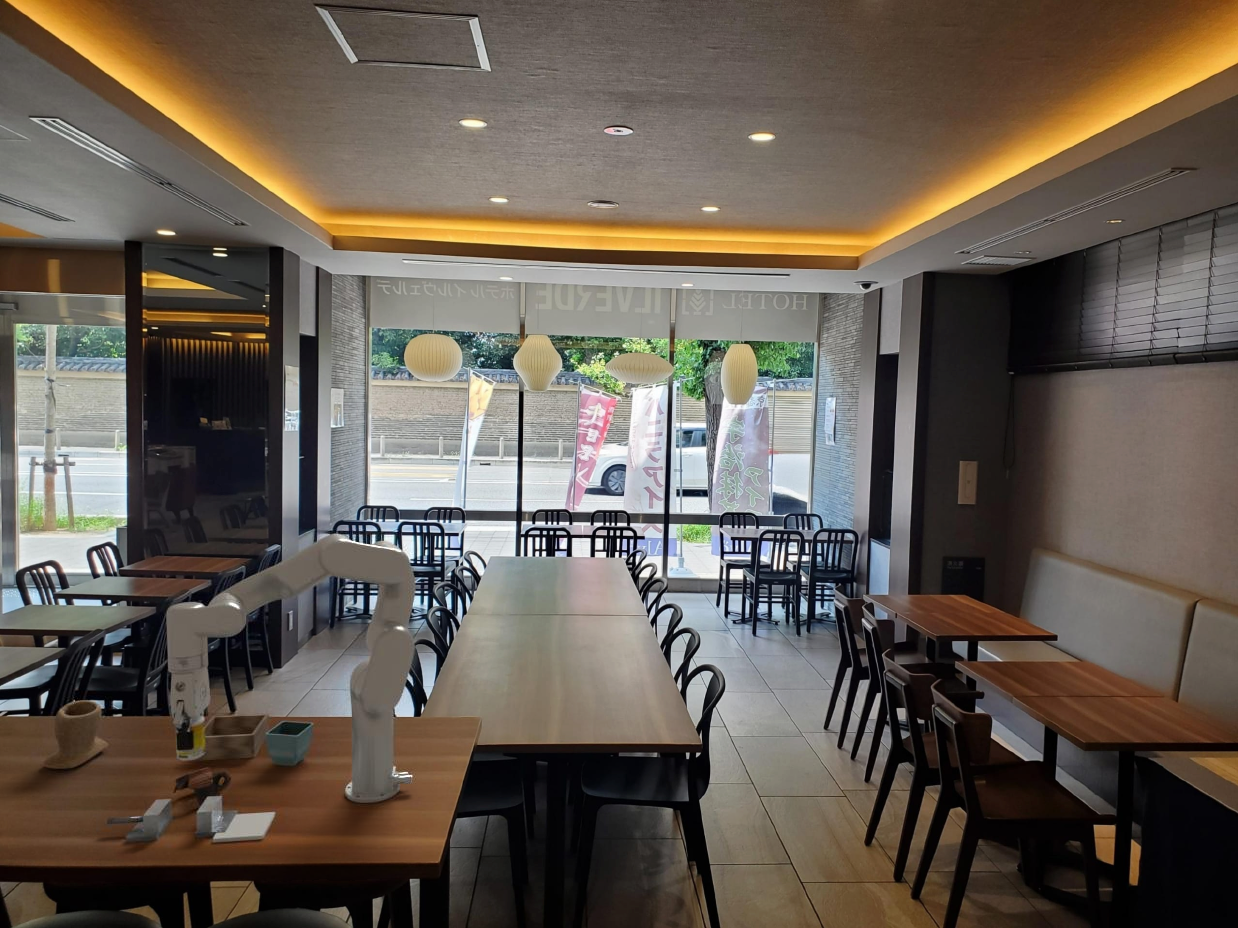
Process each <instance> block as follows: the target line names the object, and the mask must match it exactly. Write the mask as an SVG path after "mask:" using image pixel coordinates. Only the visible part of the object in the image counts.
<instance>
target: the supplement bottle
mask: <svg viewBox="0 0 1238 928" xmlns="http://www.w3.org/2000/svg"><path fill="white" fill-rule="evenodd" d="M183 717H189V716H188V715H187V714H183ZM183 722H185V723H186V724H187V723H188V720H183ZM205 722H206V721H205V716H204V717H203V716H201V715H199V716H197V717H196V718H192V729H191V730H193V734H194V748H193V749H192V750H177V739H176V738H175V750H176V751H175V753H176V754H175V755H176V758H177V759H178V760H179V761H185V762H186V761H193V760H194V759H197V758H199V757H201V756H203V755H204V754H205V725H206V723H205Z"/></svg>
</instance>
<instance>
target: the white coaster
mask: <svg viewBox="0 0 1238 928" xmlns="http://www.w3.org/2000/svg"><path fill="white" fill-rule="evenodd" d="M275 816H276V811H272V812H270V811H269V812H255V813H254V812H252V813H241V814H240V813H238V814H236V815H235V817H234V818H233V820H232V822H231V823H230V825H229V827H228V828H227V830H226V832H218V833H216V834H215V836H213V837H212V843H224V842H238V841H239V842H240V841H254V840H264V839H265V836H266V834H267V833H268V830H269V829H270V827H271V825H272V823H273V820H274V819H275Z"/></svg>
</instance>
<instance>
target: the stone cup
mask: <svg viewBox="0 0 1238 928" xmlns="http://www.w3.org/2000/svg"><path fill="white" fill-rule="evenodd" d="M101 721H102V707H101V705H100V704H99V703H98V702H96V701H93V700H88V699H84V700H83V699H82V700H81V699H80V700H76V701H72V702H69V703H67V704H65V705H64V706H62V707H61V708H59V710H58V711H57V713H56V716H55V718H54V728H53V729H54V735H55V739H56V741H57V743H58V744H57V745H58V750H57V751H56V752H54V753H52V754H51V755H49V756H47V757H46V758H45V759H44V760H43V761H42V766H43V767H45V768H48V769H55V770H64V769H72V768H76V767H78V766H80V765H82V764H84V763H86V762H87V761H89V760H90V759H92V758H93V757H95V756H97V754H100V752H102V751H104V750H105V749H106V748H108V746H109V744H108V742H106V741H104V739H102V738H99V737H98V736H97V733H98V729H99V727H100V725H101Z"/></svg>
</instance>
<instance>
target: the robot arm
mask: <svg viewBox="0 0 1238 928" xmlns="http://www.w3.org/2000/svg"><path fill="white" fill-rule="evenodd" d="M332 576H333V577H336V578H340V579H345V580H349V581H353V582H356V581H357V582H362V583H369V584H376V585H378V591H377V598H376V601H375V606H374V609H373V613H372V616H371V620H370V623H369V626H368V629H367V632H366V635H365V644H366V647H367V649H368V651H369V652H370V657H369V659H365V660H363V661H361V662H359V663H358V664H357V665H356V666H355V668H354V669H353V671H352V672H351V675H350V679H349V693H350V695H349V696H350V703H351V706H350V709H351V781H350V782H349V783H348V784H347V785H346V787H345V789H344V794H345V797H346V798H347V799H348V800H350V801H352V802H355V803H362V804H368V803H377V802H381V801H385V800H388V799H390V798H392V797H393V796H396V795H397V793H399V792H400V789H401V785H402V784H403V785H410V784H413V774H409V772H408V771H403V772H399V771H397V766H395V765H394V726H395V725H394V719H395V718H394V716H395V715H394V709H395V708H396V706H397V705H398V704H399V702H400V700H401V699H402V696H403V693H404V690H405V686H406V683H407V680H408V677H409V674H410V670H411V667H412V663H413V659H414V655H415V640H414V636H413V634H412V633H411V632H410V630H409V629H408V628H409V622H410V617H411V614H412V610H413V605H414V601H415V595H416V579H415V575H414V570H413V568H412V565H411V560H410V558H409V556H408V554H406V552H404V551H403V550H402V549H401V548H399V547H398V546H397V545H395V544H394V543H393V542H390V541H387V540H379V541H376V542H374V543H372V544H368V543H367V544H366V543H361V542H357V541H353V540H351V539H350V538H348V537H347V536H345V535H343V534H341V533H340V534H339V533H332V534H327V535H326V536H324V537H322V538H320V539H318V540H317V541H315V542H313V543H312V544H309V545H308V546H306V547H305V548H303V549H301V550H299V551H298V552H297V553H295V554H293V555H291V556H289V557H288V558H286V559H284V560H282V561H280V562H278V563H277V564H275V565H273V566H270V567H268V568H266V569H264V570H262V571H260V572H257V573H255V574H253V575H251V576H248V577H247V578H245V579H243V580H241V581H239V582H236V583H235V584H234V585H232V586H230V587H228V588H227V589H225V590H223V591H221V592H220V593H218V594H217V595H216V596H214V597H213V598H212V600H211V601H210V602H209V603H208V605H207V606H206V605H204V604H203V603H201V602H196V601H188V602H186V601H185V602H179V603H176V604H173V605H171V606H169V607H168V608H167V610H166V615H165V617H166V638H167V639H166V640H167V641H166V644H167V667H168V669H167V670H168V672H169V673H171V679H170V680H171V681H170V714H171V718H173V721H172V723H173V724H172V725H173V726H174V729H175V740H176V739H177V750H192V749H193V748H194V734H193V730H191V729H192V718H196V717H197V716H199V715H201V716H203V717H204V718H205V710H206V708H207V707H208V706H210V703H211V694H210V693H211V691H210V689H211V688H210V678H209V670H208V666H209V655H208V654H209V653H208V651H209V650H208V638H229V637H230V638H231V637H233V636H236V635H238V634H240V632H242V630H244V628H245V626H246V624H247V615H249V614H250V613H252V612H254V611H256V610H257V609H260V607H262V606H265V605H267V604H269V603H271V602H275V601H278V600H286V599H292V598H297V597H299V596H300V595H303V594H304V593H306V592H307V591H309V590H311V589H312V588H314V587H316V586H317V585H318V584H320V583H322V582H324V581H325V580H327V579H329V578H331V577H332ZM183 714H187V715H188V716H189V717H183ZM183 720H188V723H187V724H186V723H185V722H183Z"/></svg>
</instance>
